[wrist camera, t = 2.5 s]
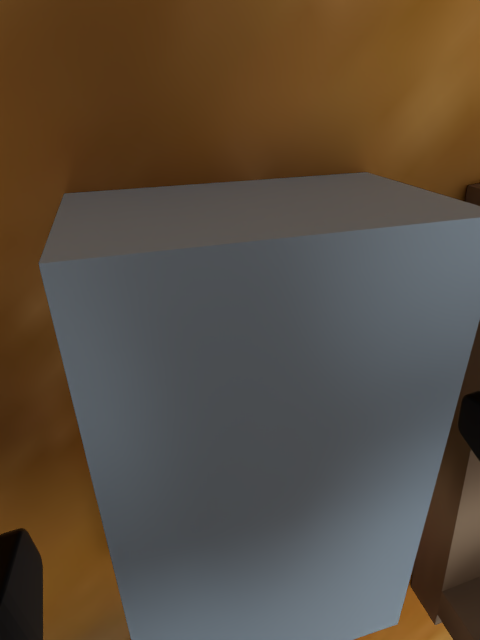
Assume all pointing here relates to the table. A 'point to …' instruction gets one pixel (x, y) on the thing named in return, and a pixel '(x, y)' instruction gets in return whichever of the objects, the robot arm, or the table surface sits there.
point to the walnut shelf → (454, 523)
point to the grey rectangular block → (264, 392)
